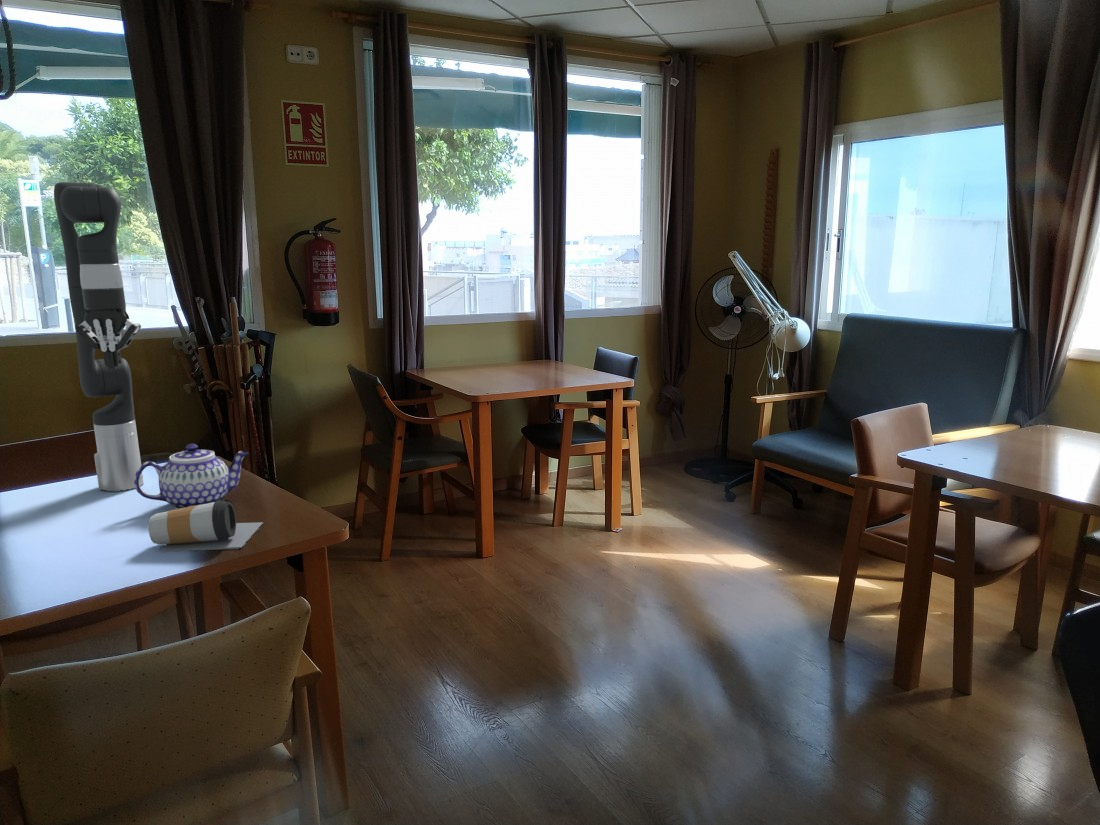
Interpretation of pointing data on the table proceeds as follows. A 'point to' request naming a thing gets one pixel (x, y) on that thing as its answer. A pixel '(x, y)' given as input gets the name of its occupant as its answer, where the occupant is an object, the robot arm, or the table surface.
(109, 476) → the robot arm
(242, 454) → the teapot
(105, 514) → the table surface
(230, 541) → the mat
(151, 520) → the coffee cup
